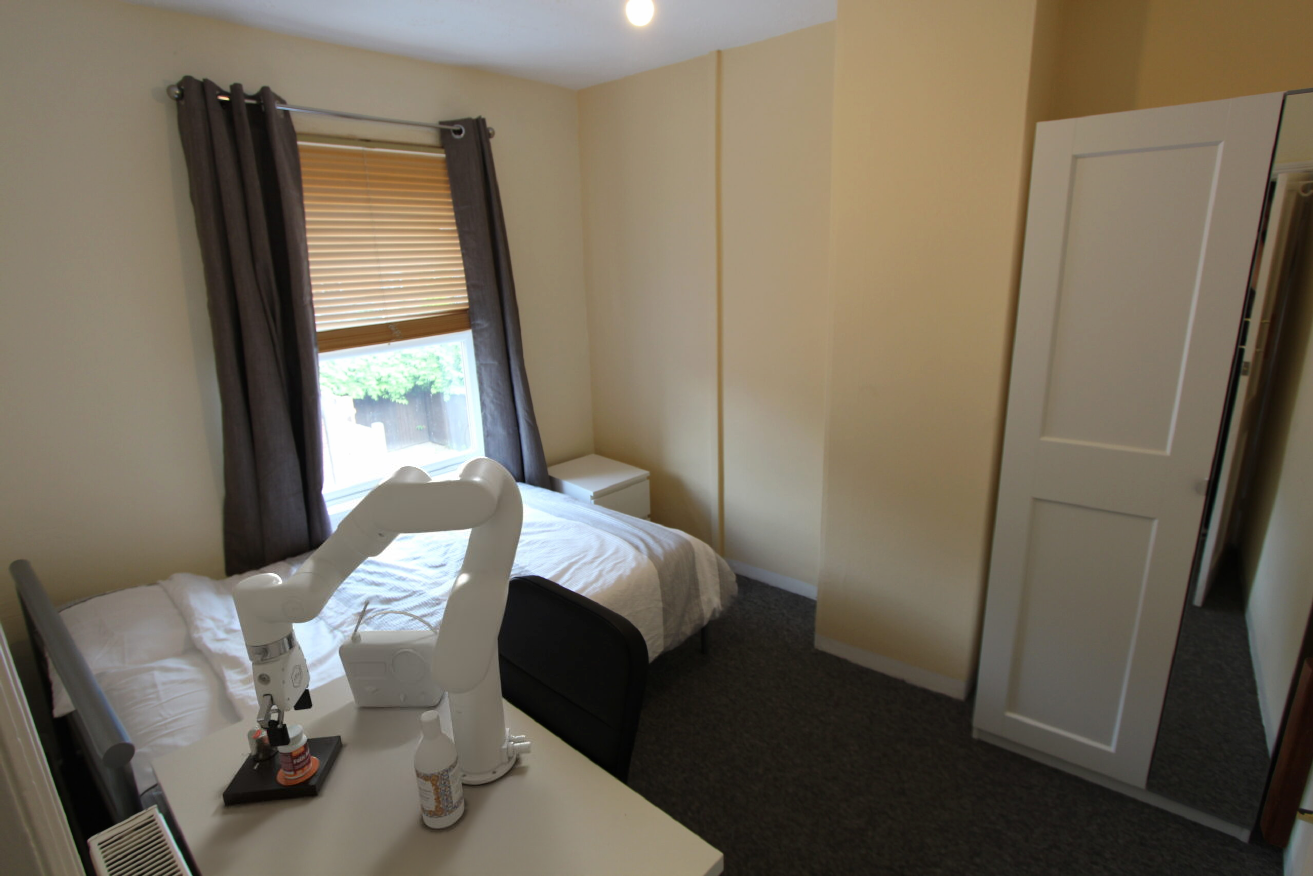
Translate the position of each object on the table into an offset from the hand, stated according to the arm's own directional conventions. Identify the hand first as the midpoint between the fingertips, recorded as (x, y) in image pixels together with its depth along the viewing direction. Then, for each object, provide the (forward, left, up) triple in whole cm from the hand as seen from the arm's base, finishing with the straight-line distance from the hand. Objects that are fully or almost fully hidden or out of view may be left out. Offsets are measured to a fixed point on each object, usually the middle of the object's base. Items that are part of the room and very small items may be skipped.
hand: (292, 726), depth 120 cm
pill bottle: (+1, 0, -10) cm, 10 cm away
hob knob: (+9, -6, -10) cm, 15 cm away
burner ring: (+1, 0, -10) cm, 10 cm away
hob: (+4, -2, -12) cm, 13 cm away
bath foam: (-28, +12, -12) cm, 33 cm away
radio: (-12, -22, -12) cm, 28 cm away
